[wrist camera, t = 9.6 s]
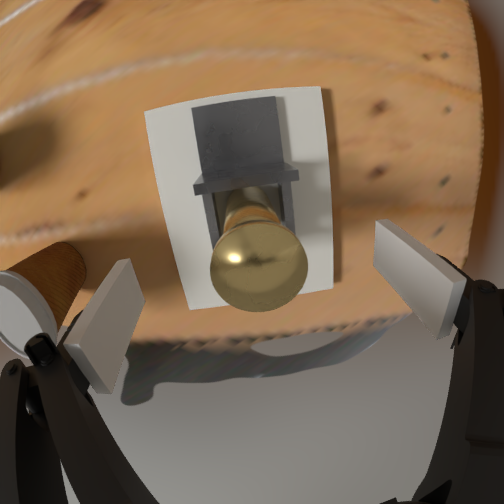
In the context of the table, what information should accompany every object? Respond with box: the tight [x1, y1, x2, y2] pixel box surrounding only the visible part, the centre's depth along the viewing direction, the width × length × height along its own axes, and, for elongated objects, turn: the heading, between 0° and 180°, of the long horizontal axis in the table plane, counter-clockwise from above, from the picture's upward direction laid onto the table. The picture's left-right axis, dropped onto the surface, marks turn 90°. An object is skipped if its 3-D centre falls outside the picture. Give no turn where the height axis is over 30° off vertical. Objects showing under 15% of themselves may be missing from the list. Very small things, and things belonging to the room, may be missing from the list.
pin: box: [210, 186, 308, 312], centre depth 20 cm, size 5×5×13 cm
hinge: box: [191, 96, 299, 249], centre depth 23 cm, size 19×7×6 cm, turn 8°
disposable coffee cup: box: [0, 242, 86, 359], centre depth 23 cm, size 10×10×12 cm
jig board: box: [144, 86, 333, 310], centre depth 26 cm, size 21×16×1 cm
